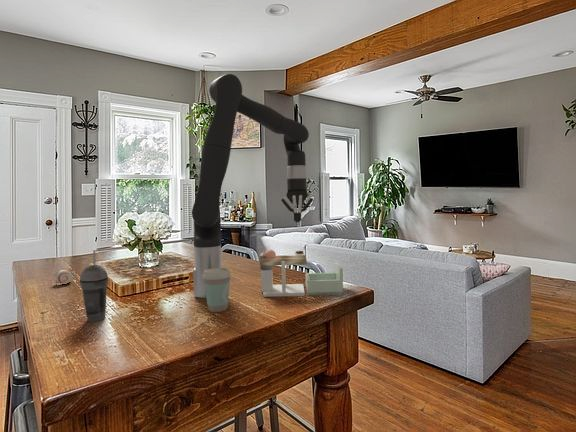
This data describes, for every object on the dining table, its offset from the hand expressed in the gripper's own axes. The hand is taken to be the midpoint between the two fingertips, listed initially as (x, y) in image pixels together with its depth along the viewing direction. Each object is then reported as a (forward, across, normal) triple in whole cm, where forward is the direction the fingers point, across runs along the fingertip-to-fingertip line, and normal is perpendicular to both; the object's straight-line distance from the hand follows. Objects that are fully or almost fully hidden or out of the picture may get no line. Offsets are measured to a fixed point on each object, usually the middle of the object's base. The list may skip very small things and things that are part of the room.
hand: (297, 222), depth 142 cm
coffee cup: (+24, -26, -32) cm, 48 cm away
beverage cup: (+24, -60, -38) cm, 75 cm away
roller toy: (+24, -95, +5) cm, 98 cm away
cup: (+23, +8, -15) cm, 29 cm away
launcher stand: (+23, -6, -14) cm, 28 cm away
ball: (+10, -10, -14) cm, 21 cm away
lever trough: (+15, -6, -11) cm, 19 cm away
